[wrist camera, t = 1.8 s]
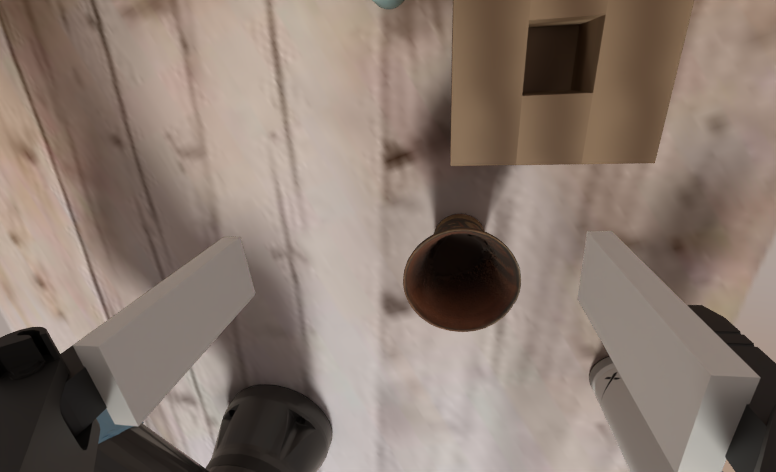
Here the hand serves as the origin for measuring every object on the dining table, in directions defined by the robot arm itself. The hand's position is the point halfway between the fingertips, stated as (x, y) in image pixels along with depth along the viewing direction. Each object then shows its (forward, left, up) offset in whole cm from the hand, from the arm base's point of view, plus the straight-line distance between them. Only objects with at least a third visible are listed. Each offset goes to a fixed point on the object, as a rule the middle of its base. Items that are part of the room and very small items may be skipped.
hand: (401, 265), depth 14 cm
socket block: (+9, +7, -21) cm, 24 cm away
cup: (+3, -8, -22) cm, 23 cm away
